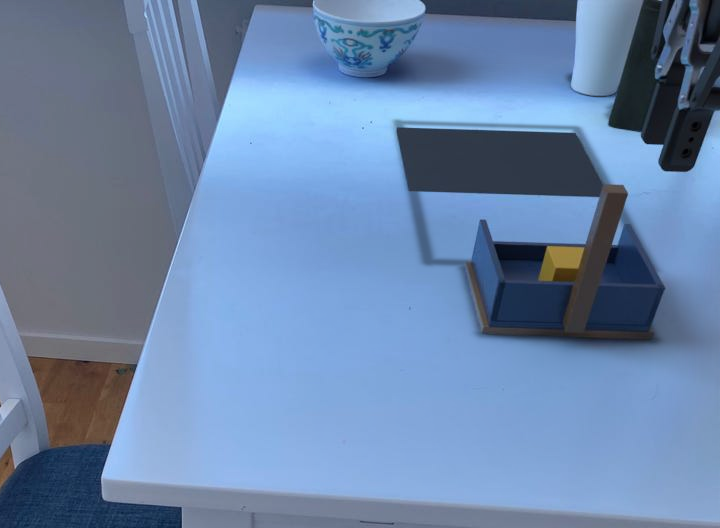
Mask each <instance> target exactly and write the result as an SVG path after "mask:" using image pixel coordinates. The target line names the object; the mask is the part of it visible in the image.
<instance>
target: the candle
mask: <svg viewBox="0 0 720 528" xmlns="http://www.w3.org/2000/svg"><path fill="white" fill-rule="evenodd" d="M661 3H662V0H644V1H643V3H642V6H641V10H640V13H639V17H638V20H637V24H636V27H635V31H634V34H633V38H632V41H631V45H630V48H629V52H628V55H627V59H626V62H625V66H624V69H623V73H622V76H621V80H620V83H619V85H618V88H617V90H616V92H615V98H614V101H613V104H612V108H611V111H610V115H609V117H608V121H607V125H608V126H609V127H611V128H615V129H621V130H627V131H636V132H642V128H643V125H644V122H645V119H646V116H647V112H648V109H649V106H650V103H651V100H652V97H653V93H654V90H655V87H656V84H657V82H659V81H660V79H656V78H655V68H656V65H657V63H658V60H652V58H651V50H652V47H653V42H654V37H655V32H656V28H657V23H658V18H659V13H660V8H661ZM683 23H684V21H682V23H681V24H683Z"/></svg>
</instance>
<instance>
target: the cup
mask: <svg viewBox="0 0 720 528" xmlns="http://www.w3.org/2000/svg"><path fill="white" fill-rule="evenodd" d="M643 1H644V0H577V1H576V2H577V4H576V16H575V47H574V48H575V49H574V51H575V52H574V62H573V69H572V74H571V82H570V88H571V89H572V90H573V91H574V92H575V93H578V94H581V95H585V96H590V97H608V96H611V95H614V94H616V93H617V90H618V87H619V83H620V80H621V76H622V73H623V69H624V66H625V62H626V59H627V55H628V52H629V48H630V45H631V41H632V38H633V34H634V31H635V27H636V24H637V20H638V17H639V13H640V10H641V6H642V3H643Z"/></svg>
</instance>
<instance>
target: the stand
mask: <svg viewBox="0 0 720 528" xmlns="http://www.w3.org/2000/svg"><path fill="white" fill-rule="evenodd" d="M464 273H465V276H466V281H467V285H468V288H469V292H470V296H471V299H472V303H473V307H474V311H475V314H476V318H477V322H478V325H479V330H480V333H481V335H504V336H505V335H507V336H508V335H509V336H535V337H536V336H541V337H565V338H566V337H568V338H569V337H570V338H571V337H572V338H597V339H599V338H600V339H627V340H628V339H629V340H631V339H633V340H652V339H653V337H654V334H655V331H654V329H653V327H652V326H651V327H650V330H649V332H638V331H607V330H584V333H572V332H565V329H546V328H515V327H489V324H488V321H487V317H486V313H485V310H484V306H483V303H482V299H481V295H480V292H479V288H478V285H477V281H476V277H475V274H474V270H473V266H472V263H471V261H465V263H464Z"/></svg>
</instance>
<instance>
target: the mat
mask: <svg viewBox="0 0 720 528" xmlns="http://www.w3.org/2000/svg"><path fill="white" fill-rule="evenodd" d="M396 134H397V140H398V144H399V149H400V154H401V158H402V164H403V168H404V173H405V177H406V182H407V188H408V192H416V193H417V192H421V193H422V192H423V193H452V194H481V195H482V194H484V195H485V194H486V195H489V194H490V195H515V196H516V195H519V196H547V197H549V196H550V197H576V198H577V197H578V198H579V197H580V198H581V197H582V198H599V197H600V194H601V190H602V187H603V182H602V180H601V178H600V176H599V174H598V172H597V171H596V170H597V169H596V168H595V167H594V165H593V163H592V161H591V159H590V157H589V155H588V154H587V152H586V150H585V149H584V146H583V145H582V142H581V140H580V139H579V136H578V135H577V133H576V132H561V131H558V132H557V131H532V130H531V131H529V130H500V129H499V130H497V129H468V128H467V129H466V128H465V129H464V128H436V127H435V128H431V127H403V126H397V127H396Z"/></svg>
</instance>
